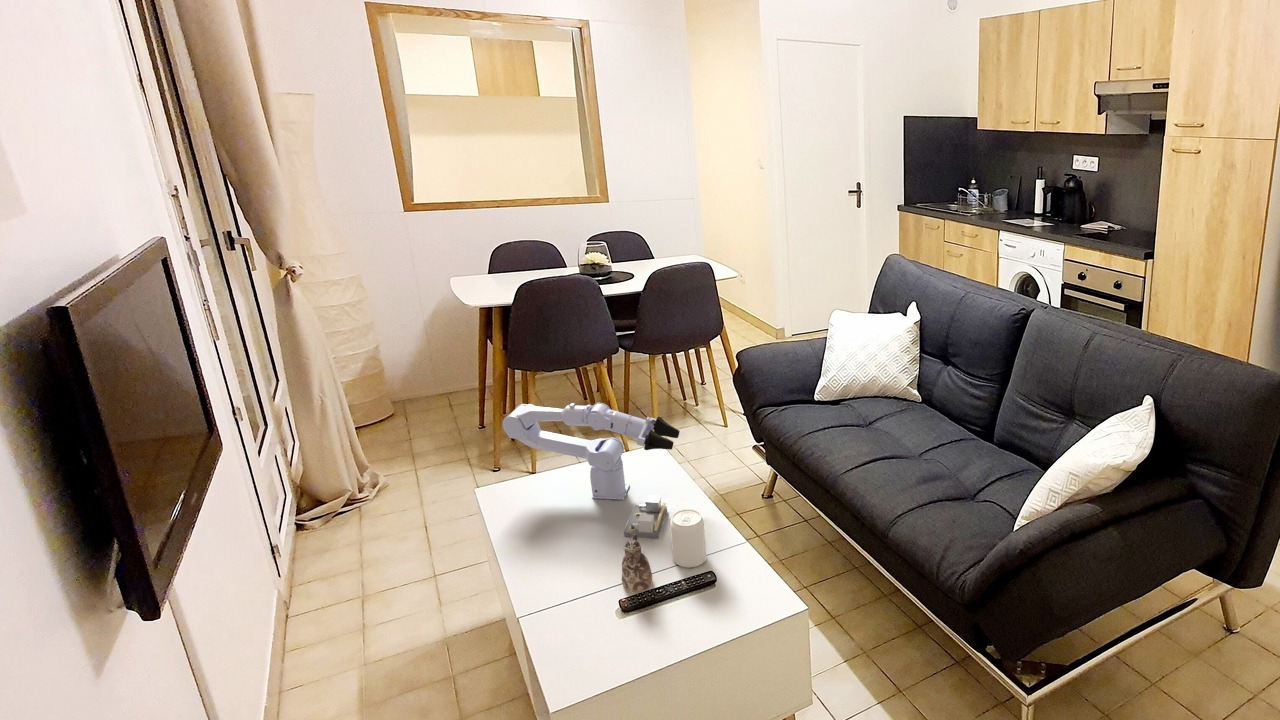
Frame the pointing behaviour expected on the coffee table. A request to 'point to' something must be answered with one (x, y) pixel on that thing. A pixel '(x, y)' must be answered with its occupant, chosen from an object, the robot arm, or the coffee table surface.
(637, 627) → the coffee table surface
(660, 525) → the board
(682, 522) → the beverage can
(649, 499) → the sliding leg
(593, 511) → the coffee table surface
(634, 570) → the figurine
